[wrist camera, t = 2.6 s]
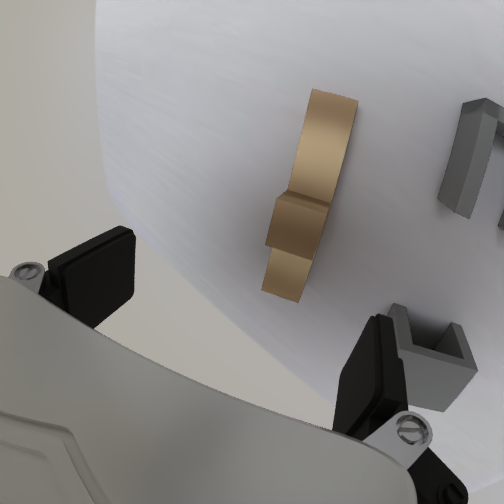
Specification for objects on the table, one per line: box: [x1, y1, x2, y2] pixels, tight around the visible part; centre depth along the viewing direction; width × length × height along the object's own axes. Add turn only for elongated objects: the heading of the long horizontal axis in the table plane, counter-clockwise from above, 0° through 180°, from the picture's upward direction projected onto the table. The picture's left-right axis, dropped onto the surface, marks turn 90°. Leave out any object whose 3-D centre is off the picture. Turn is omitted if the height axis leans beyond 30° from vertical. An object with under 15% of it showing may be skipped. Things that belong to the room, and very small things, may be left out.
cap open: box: [438, 98, 504, 230], centre depth 16 cm, size 8×7×4 cm
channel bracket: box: [387, 304, 478, 412], centre depth 22 cm, size 5×7×6 cm
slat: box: [261, 89, 358, 303], centre depth 20 cm, size 15×3×6 cm, turn 167°
